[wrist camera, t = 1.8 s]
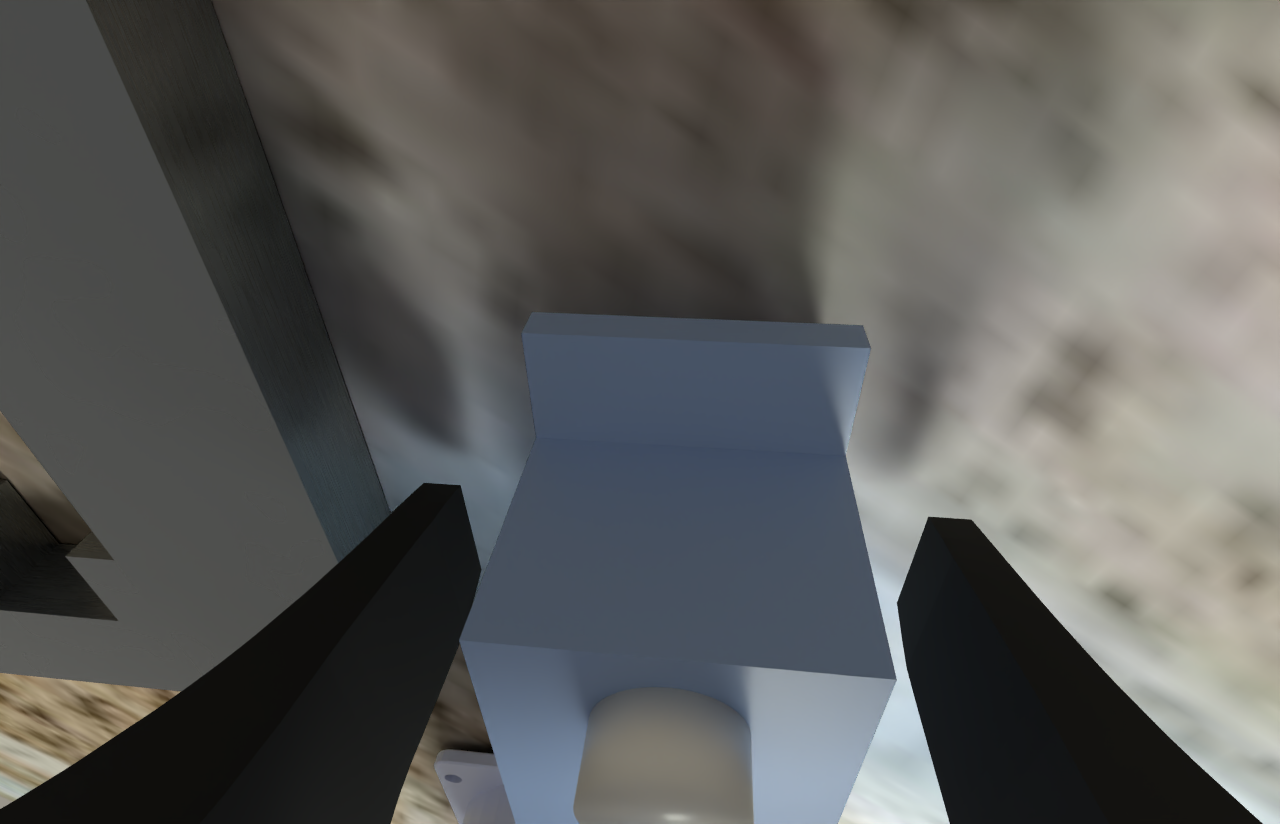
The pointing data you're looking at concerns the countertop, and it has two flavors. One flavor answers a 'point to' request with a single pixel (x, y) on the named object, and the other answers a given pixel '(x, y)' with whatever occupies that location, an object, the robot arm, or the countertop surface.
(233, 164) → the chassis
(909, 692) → the countertop surface
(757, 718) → the servo
